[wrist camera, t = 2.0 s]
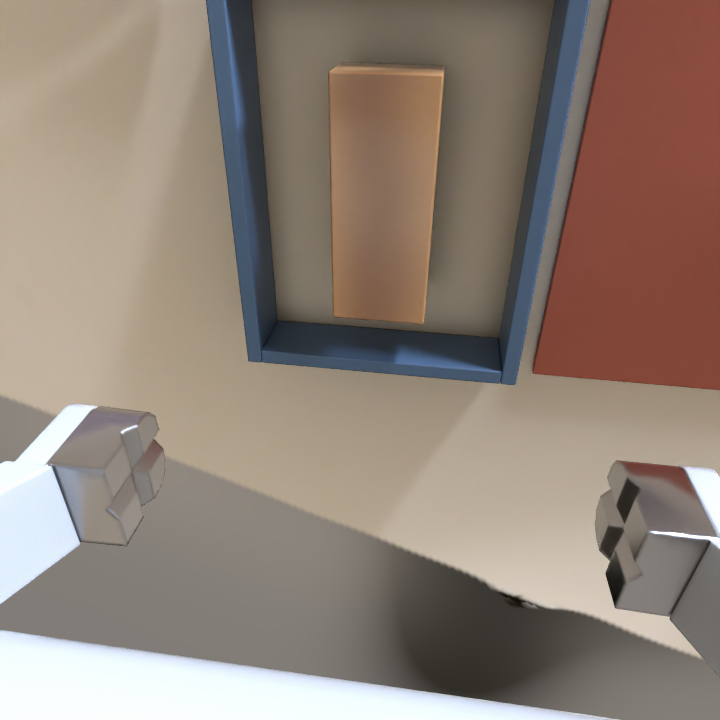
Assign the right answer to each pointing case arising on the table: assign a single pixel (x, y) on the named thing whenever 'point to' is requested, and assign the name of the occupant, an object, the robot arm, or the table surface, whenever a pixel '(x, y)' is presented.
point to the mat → (644, 207)
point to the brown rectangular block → (383, 187)
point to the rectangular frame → (373, 345)
